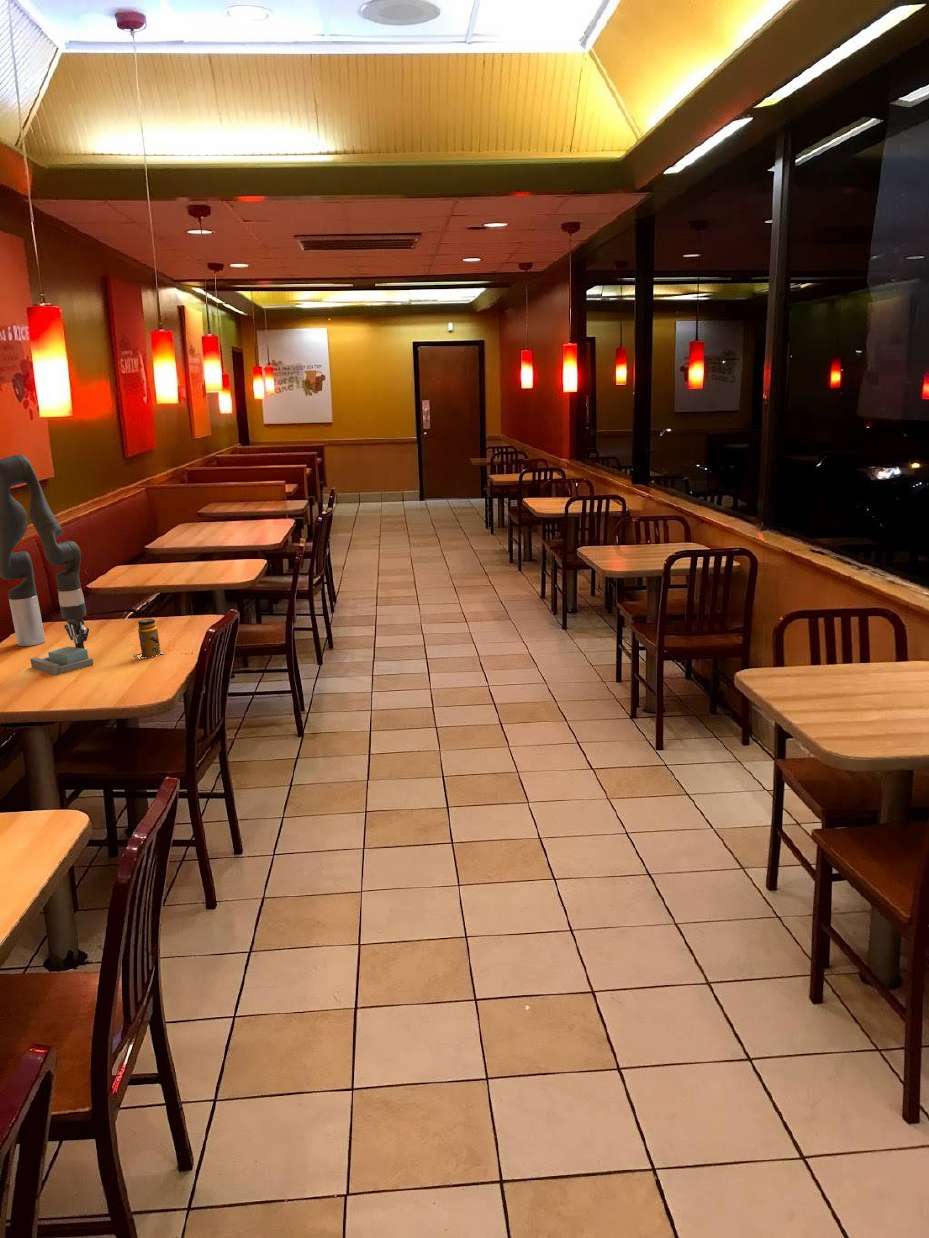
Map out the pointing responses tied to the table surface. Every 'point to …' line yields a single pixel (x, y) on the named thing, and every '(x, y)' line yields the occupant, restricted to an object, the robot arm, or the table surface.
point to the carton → (67, 655)
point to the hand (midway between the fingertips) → (81, 653)
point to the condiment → (148, 638)
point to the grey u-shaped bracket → (54, 668)
